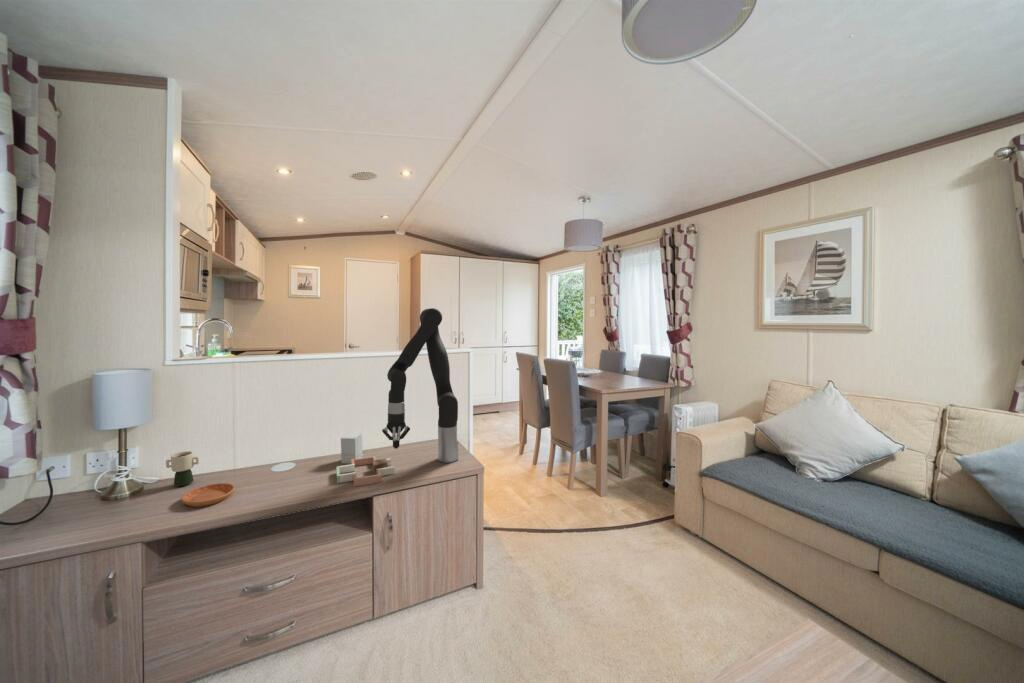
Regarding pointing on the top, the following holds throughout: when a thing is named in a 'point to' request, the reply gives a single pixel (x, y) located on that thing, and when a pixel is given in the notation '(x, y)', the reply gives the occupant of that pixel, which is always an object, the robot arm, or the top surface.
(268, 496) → the top surface
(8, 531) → the top surface
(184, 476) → the character mug
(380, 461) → the walnut block
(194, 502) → the saucer
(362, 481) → the corral
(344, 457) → the supplement box
